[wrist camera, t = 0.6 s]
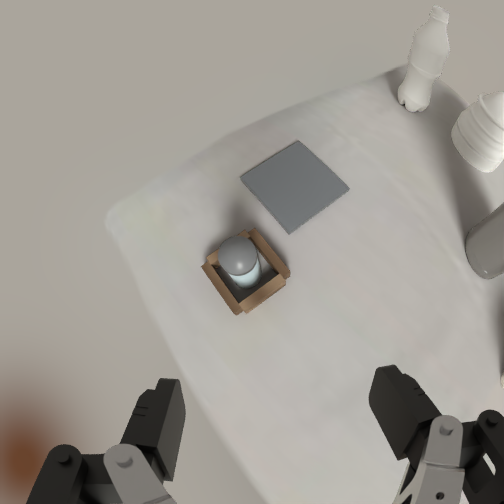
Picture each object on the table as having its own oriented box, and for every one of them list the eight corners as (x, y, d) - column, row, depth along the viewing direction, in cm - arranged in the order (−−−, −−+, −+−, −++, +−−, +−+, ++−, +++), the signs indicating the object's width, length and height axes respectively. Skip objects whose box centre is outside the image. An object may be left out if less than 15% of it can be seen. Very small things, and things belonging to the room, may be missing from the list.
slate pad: (298, 143, 45) (298, 140, 44) (348, 190, 41) (349, 188, 41) (240, 179, 44) (240, 177, 43) (288, 234, 40) (288, 233, 39)
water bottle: (388, 98, 47) (413, -2, 24) (408, 91, 48) (434, 0, 24) (412, 119, 45) (449, 19, 21) (431, 111, 45) (467, 20, 22)
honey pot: (483, 129, 43) (514, 77, 26) (504, 176, 39) (547, 125, 22) (442, 120, 45) (471, 58, 28) (463, 168, 40) (507, 106, 23)
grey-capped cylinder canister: (250, 253, 40) (241, 228, 32) (268, 276, 38) (264, 257, 30) (225, 271, 39) (210, 250, 31) (243, 295, 38) (231, 280, 30)
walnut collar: (254, 231, 41) (252, 224, 38) (292, 279, 38) (293, 275, 35) (203, 268, 40) (198, 262, 37) (239, 319, 37) (236, 317, 34)
